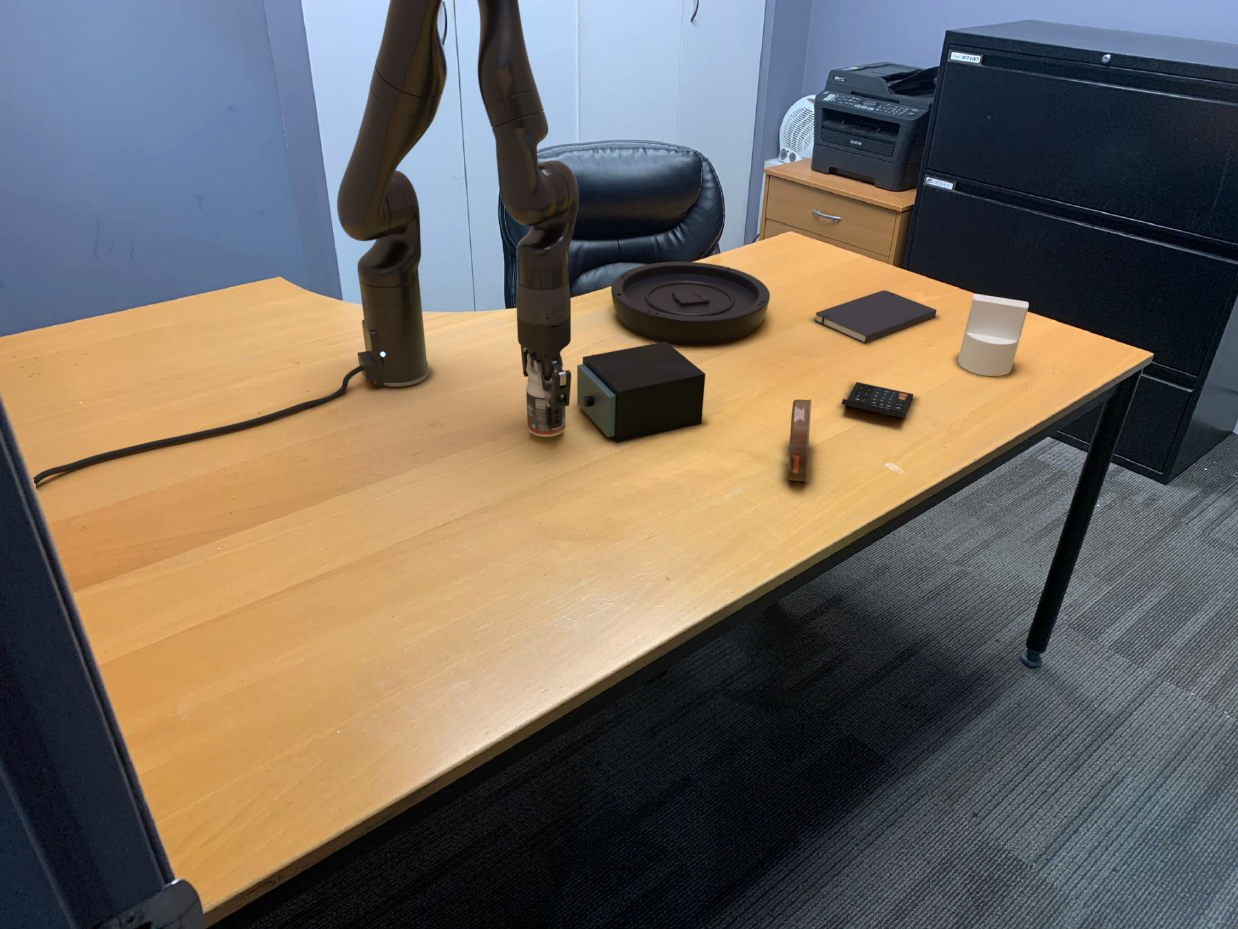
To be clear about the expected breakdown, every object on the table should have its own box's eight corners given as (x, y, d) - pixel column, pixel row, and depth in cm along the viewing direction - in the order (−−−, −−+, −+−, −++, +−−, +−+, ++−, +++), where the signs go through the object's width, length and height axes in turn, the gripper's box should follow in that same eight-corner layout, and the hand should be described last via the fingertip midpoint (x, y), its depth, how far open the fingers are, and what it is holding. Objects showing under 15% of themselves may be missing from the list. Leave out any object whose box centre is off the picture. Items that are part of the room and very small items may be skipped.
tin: (805, 493, 128) (813, 441, 124) (782, 490, 129) (789, 438, 124) (808, 439, 141) (816, 389, 136) (787, 436, 141) (794, 387, 137)
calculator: (912, 398, 153) (916, 382, 151) (899, 430, 144) (902, 413, 142) (855, 386, 156) (858, 370, 154) (839, 416, 147) (842, 399, 145)
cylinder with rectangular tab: (955, 370, 162) (971, 305, 156) (960, 350, 169) (975, 287, 163) (1010, 380, 159) (1028, 314, 153) (1012, 359, 166) (1029, 295, 160)
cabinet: (616, 443, 138) (618, 391, 134) (582, 405, 148) (582, 356, 143) (701, 423, 144) (705, 373, 139) (663, 388, 154) (665, 341, 149)
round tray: (729, 281, 195) (592, 294, 187) (732, 254, 192) (592, 266, 184) (793, 339, 171) (639, 357, 163) (797, 309, 168) (640, 326, 160)
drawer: (600, 439, 138) (601, 398, 134) (570, 405, 146) (569, 366, 142) (687, 419, 143) (689, 380, 139) (652, 388, 152) (654, 350, 148)
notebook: (864, 343, 171) (935, 317, 182) (866, 335, 170) (936, 309, 181) (812, 320, 179) (883, 296, 190) (813, 312, 178) (884, 289, 189)
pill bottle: (527, 419, 141) (525, 360, 136) (564, 419, 142) (564, 359, 137) (527, 438, 137) (525, 378, 131) (566, 437, 137) (565, 377, 132)
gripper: (500, 297, 133) (505, 401, 142) (537, 335, 122) (540, 445, 131) (549, 289, 136) (551, 391, 145) (589, 326, 125) (589, 434, 134)
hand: (546, 416), depth 138 cm, fingers closed on pill bottle, 5 cm apart
